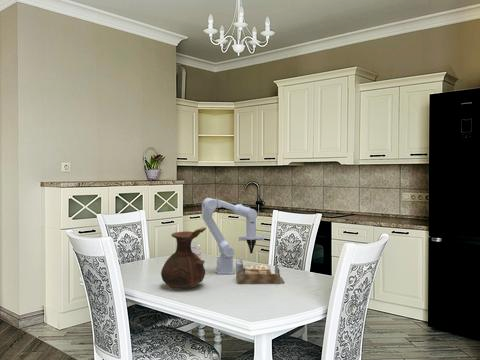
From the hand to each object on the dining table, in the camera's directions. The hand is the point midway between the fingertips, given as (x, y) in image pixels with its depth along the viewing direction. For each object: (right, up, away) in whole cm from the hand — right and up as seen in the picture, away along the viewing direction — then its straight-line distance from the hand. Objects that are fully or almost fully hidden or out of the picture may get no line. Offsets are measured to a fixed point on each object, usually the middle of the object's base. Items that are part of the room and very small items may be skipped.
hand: (251, 253), depth 260 cm
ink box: (-35, -10, +19) cm, 42 cm away
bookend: (+14, -11, -22) cm, 29 cm away
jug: (-35, -11, -36) cm, 51 cm away
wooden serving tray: (+3, -11, -23) cm, 26 cm away
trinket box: (+2, -11, -20) cm, 23 cm away
